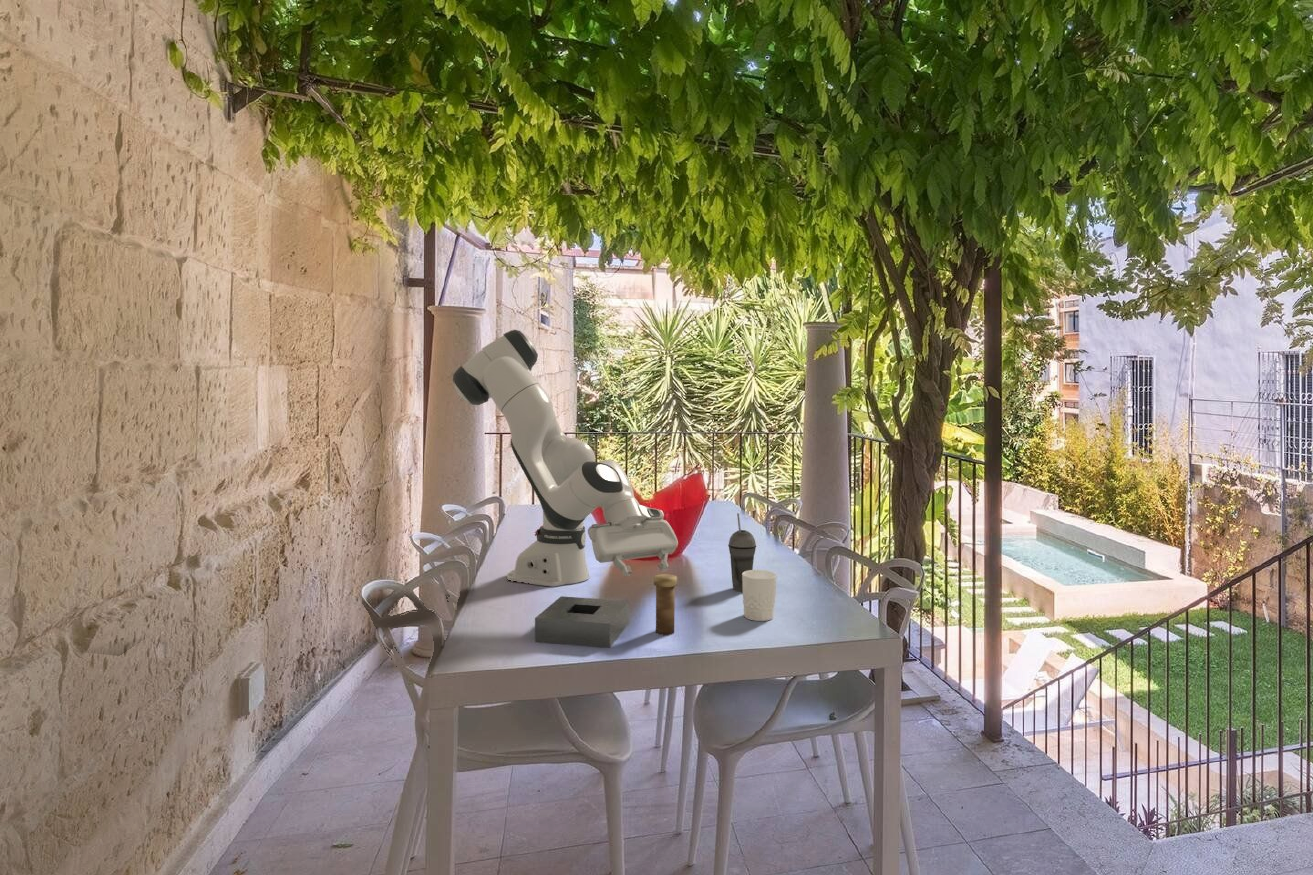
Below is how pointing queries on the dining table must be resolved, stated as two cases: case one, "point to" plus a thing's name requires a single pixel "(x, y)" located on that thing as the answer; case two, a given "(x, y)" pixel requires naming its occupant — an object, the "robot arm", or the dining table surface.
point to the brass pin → (665, 603)
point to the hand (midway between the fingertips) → (647, 572)
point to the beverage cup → (741, 555)
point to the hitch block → (582, 622)
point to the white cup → (759, 594)
